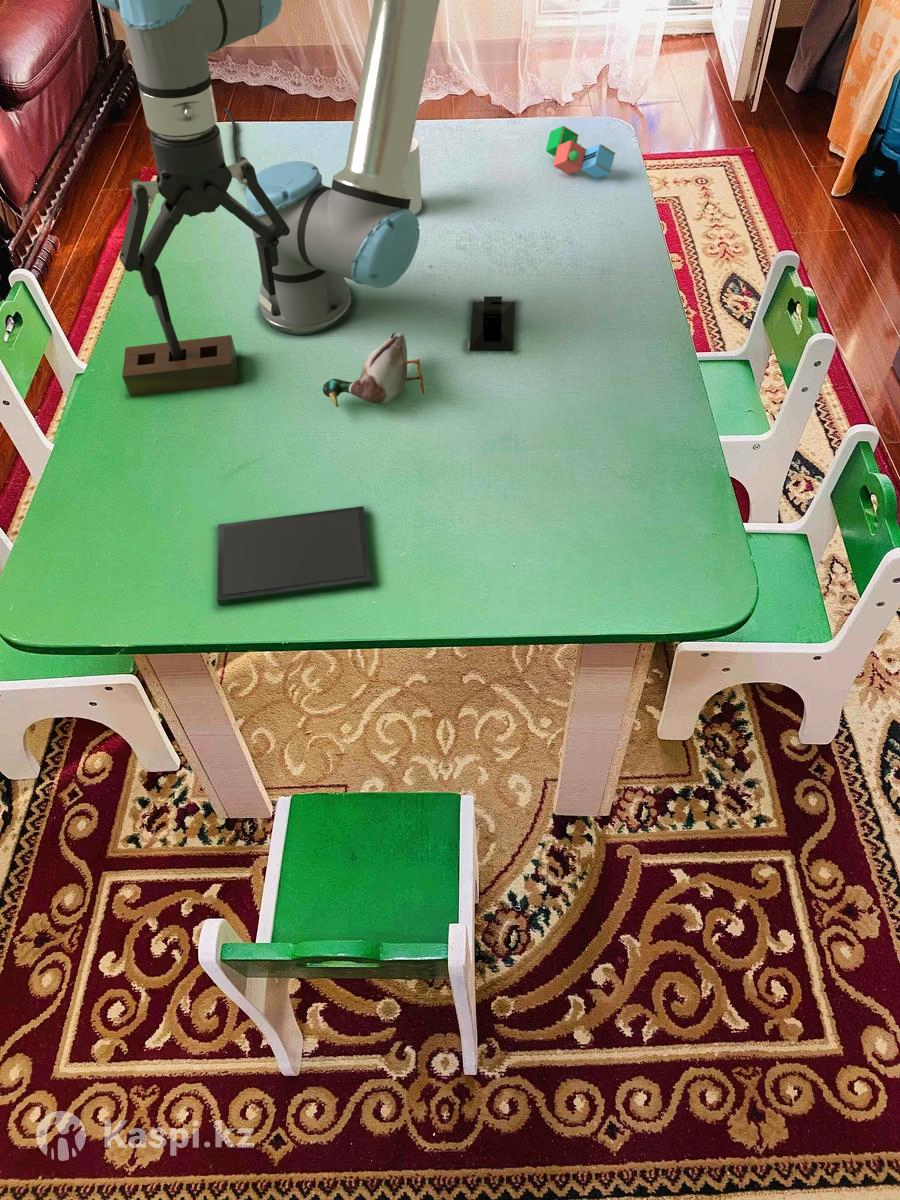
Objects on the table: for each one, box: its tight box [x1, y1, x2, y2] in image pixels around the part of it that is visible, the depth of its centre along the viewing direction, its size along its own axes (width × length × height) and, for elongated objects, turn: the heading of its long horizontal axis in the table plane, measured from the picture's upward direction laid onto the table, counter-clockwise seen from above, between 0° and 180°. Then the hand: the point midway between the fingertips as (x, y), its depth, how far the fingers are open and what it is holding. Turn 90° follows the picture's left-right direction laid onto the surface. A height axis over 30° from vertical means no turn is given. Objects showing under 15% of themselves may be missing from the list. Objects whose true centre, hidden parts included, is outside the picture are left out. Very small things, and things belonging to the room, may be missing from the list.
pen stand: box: [121, 334, 238, 397], centre depth 144 cm, size 7×17×4 cm, turn 98°
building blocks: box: [545, 125, 617, 179], centre depth 174 cm, size 8×8×12 cm
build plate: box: [467, 295, 516, 353], centre depth 148 cm, size 12×7×5 cm, turn 176°
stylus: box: [151, 296, 184, 361], centre depth 140 cm, size 2×2×16 cm
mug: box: [404, 136, 423, 216], centre depth 166 cm, size 10×7×12 cm, turn 109°
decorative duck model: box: [322, 331, 425, 408], centre depth 140 cm, size 15×8×15 cm
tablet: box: [216, 505, 373, 606], centre depth 123 cm, size 13×20×1 cm, turn 98°
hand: (218, 303), depth 116 cm, fingers open, 13 cm apart
